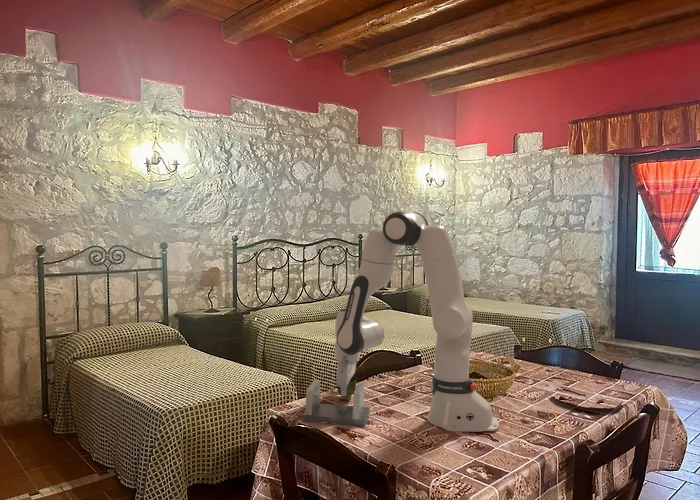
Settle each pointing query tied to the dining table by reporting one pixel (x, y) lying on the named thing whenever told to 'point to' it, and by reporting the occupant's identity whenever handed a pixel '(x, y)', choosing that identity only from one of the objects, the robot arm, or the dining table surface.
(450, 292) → the robot arm
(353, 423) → the vise
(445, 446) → the dining table surface
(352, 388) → the cup
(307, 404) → the sliding jaw
